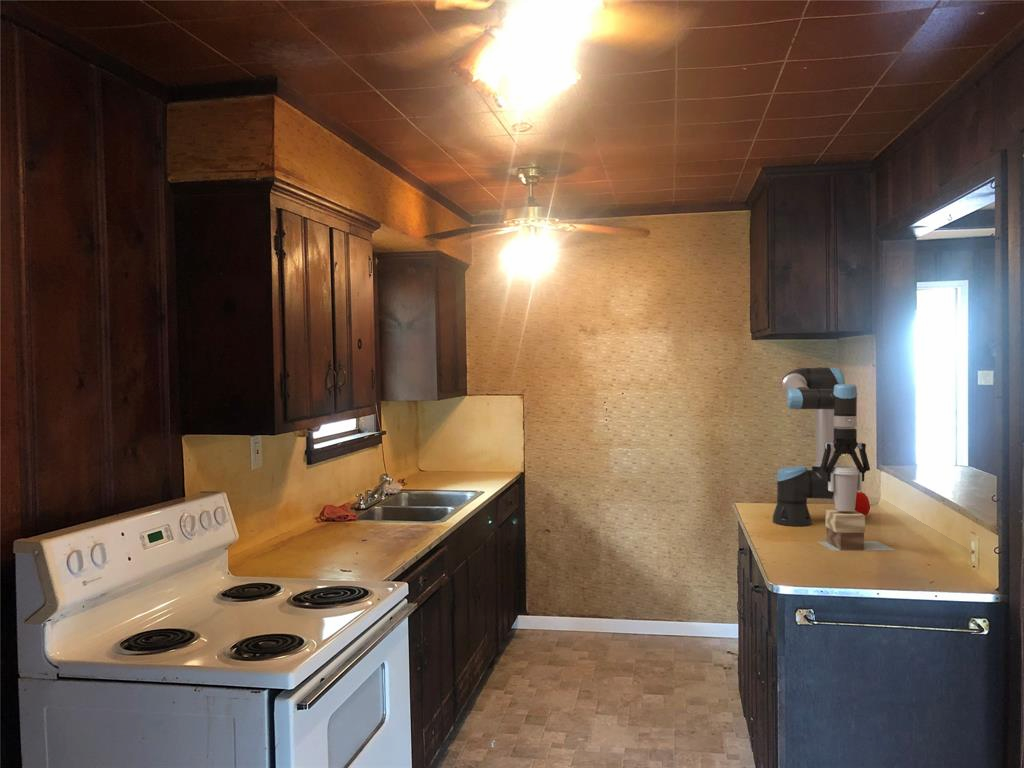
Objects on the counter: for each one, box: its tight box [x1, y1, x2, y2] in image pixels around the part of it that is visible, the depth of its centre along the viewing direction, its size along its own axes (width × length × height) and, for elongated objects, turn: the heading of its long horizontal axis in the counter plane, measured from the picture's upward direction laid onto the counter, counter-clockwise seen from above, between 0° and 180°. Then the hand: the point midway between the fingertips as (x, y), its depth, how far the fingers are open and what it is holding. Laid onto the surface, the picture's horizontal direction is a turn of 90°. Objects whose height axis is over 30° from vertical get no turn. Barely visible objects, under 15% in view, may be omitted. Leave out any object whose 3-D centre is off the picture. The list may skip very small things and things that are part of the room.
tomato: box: [833, 491, 871, 517], centre depth 326 cm, size 13×14×12 cm
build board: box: [817, 540, 896, 552], centre depth 269 cm, size 13×22×1 cm, turn 90°
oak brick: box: [825, 509, 866, 534], centre depth 269 cm, size 10×10×6 cm
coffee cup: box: [831, 465, 860, 511], centre depth 268 cm, size 10×10×15 cm
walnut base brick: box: [826, 527, 865, 551], centre depth 269 cm, size 12×8×6 cm, turn 0°
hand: (844, 490), depth 269 cm, fingers closed on coffee cup, 9 cm apart
